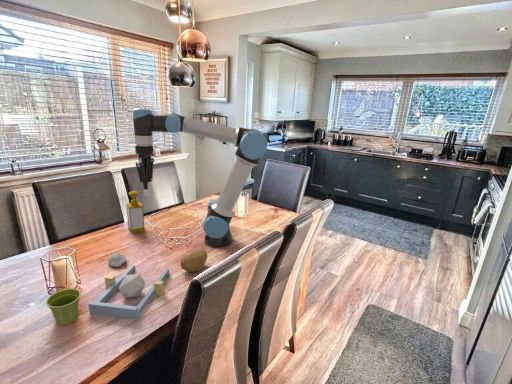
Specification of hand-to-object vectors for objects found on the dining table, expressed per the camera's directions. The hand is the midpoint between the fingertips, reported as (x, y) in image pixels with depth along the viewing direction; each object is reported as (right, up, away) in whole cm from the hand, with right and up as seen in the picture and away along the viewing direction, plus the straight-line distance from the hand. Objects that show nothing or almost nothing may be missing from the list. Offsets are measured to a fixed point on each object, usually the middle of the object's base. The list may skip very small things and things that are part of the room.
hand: (147, 195), depth 130 cm
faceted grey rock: (+3, -38, -23) cm, 45 cm away
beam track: (+3, -37, -21) cm, 43 cm away
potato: (+23, -34, -4) cm, 41 cm away
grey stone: (-12, -32, -3) cm, 34 cm away
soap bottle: (-16, -20, +32) cm, 41 cm away
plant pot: (-13, -42, -37) cm, 57 cm away
